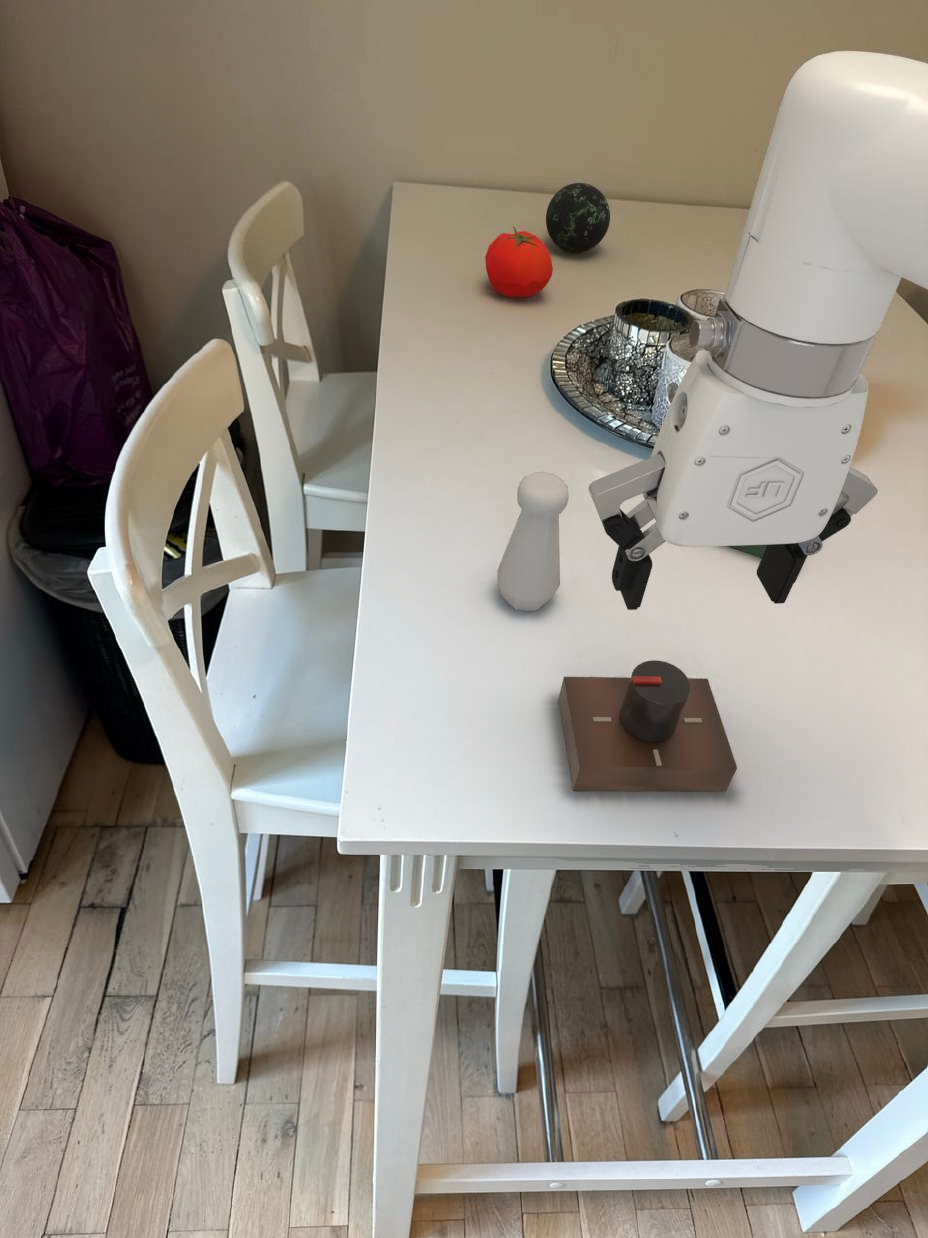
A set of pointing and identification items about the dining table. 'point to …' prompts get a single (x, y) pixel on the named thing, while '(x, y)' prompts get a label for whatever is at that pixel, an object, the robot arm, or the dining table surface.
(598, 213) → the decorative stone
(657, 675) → the knob
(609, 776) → the panel
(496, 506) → the dining table surface
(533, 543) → the salt shaker
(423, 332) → the dining table surface
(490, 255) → the tomato
